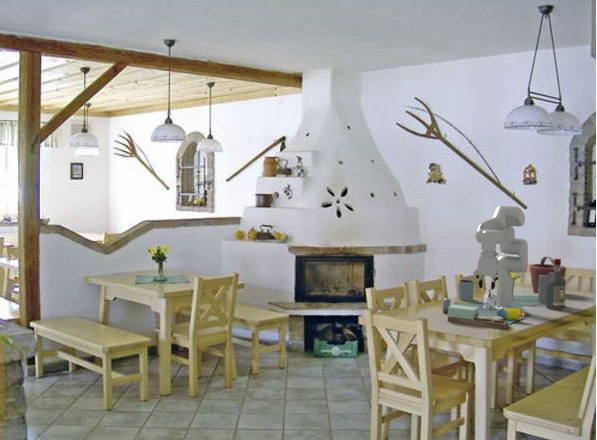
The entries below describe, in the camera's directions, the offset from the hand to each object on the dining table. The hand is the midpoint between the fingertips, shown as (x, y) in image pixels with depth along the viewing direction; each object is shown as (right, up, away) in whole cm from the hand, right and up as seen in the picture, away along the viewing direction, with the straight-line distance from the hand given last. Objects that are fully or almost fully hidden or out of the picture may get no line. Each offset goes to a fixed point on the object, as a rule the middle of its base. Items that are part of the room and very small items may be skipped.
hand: (486, 288), depth 359 cm
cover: (-11, -16, +7) cm, 21 cm away
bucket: (+69, -14, +105) cm, 127 cm away
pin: (-15, -17, +30) cm, 37 cm away
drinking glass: (+7, -15, +74) cm, 76 cm away
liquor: (+55, -18, +51) cm, 77 cm away
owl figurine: (+17, -20, +14) cm, 29 cm away
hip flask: (+57, -17, +64) cm, 87 cm away
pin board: (-4, -19, +3) cm, 20 cm away
